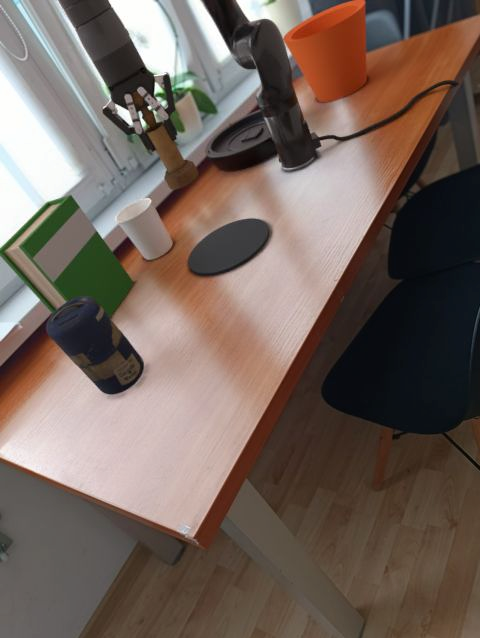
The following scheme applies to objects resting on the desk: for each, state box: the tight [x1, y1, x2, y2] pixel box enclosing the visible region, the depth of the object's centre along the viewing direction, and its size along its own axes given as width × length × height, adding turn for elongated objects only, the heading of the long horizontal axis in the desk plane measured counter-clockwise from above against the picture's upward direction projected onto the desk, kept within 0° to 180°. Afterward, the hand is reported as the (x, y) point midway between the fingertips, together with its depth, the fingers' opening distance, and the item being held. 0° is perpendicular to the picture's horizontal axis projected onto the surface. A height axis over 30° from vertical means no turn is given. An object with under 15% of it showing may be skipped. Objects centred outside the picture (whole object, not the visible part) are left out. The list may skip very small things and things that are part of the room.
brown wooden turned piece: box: [132, 92, 199, 191], centre depth 90 cm, size 7×6×18 cm
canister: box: [45, 296, 145, 396], centre depth 84 cm, size 10×10×18 cm
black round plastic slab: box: [204, 109, 278, 172], centre depth 146 cm, size 30×6×30 cm
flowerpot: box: [282, 0, 368, 103], centre depth 148 cm, size 25×25×20 cm
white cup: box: [114, 197, 174, 261], centre depth 120 cm, size 10×10×12 cm
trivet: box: [187, 217, 271, 277], centre depth 109 cm, size 20×20×1 cm
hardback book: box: [0, 194, 135, 319], centre depth 105 cm, size 18×7×24 cm, turn 161°
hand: (164, 144), depth 91 cm, fingers closed on brown wooden turned piece, 4 cm apart
